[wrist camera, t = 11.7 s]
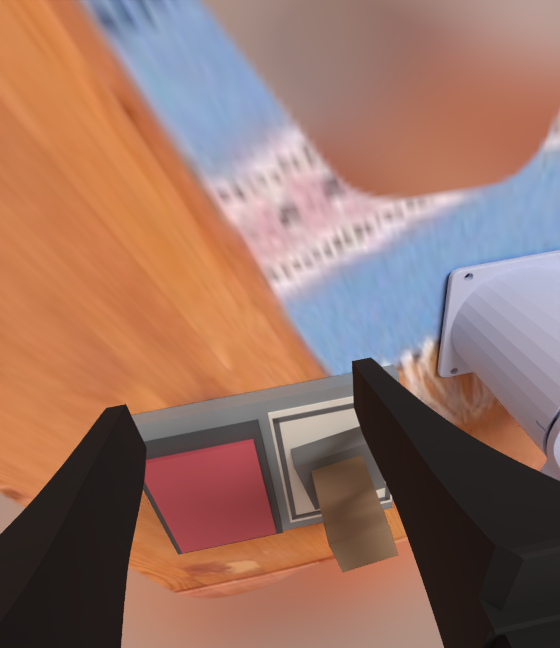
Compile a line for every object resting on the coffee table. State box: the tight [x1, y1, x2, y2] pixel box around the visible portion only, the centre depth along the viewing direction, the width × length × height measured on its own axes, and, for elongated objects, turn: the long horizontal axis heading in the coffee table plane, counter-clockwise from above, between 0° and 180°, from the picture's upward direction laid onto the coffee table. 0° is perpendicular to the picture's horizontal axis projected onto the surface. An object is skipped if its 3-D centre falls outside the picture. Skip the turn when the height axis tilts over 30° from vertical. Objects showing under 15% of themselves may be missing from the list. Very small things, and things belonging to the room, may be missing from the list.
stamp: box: [290, 426, 398, 572], centre depth 26 cm, size 6×6×6 cm
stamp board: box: [131, 365, 399, 555], centre depth 29 cm, size 18×15×2 cm
